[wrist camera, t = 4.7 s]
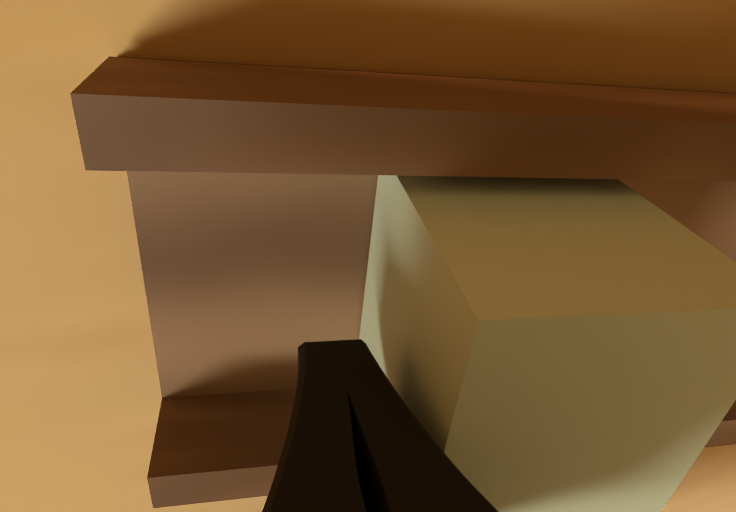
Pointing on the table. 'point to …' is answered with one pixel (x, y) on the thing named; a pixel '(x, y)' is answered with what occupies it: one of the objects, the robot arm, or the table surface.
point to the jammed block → (551, 335)
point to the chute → (337, 214)
